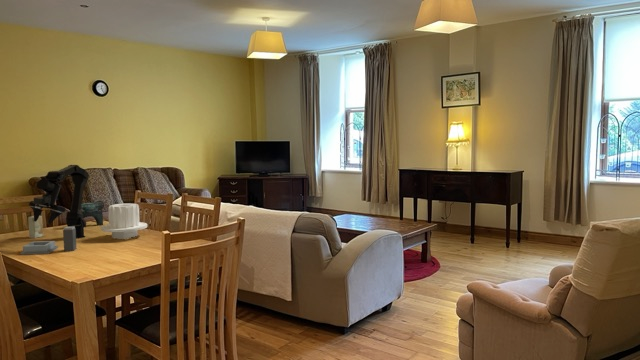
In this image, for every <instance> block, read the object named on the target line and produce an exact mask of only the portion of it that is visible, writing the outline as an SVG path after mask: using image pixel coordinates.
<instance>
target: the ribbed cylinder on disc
mask: <svg viewBox="0 0 640 360" xmlns="http://www.w3.org/2000/svg"><path fill="white" fill-rule="evenodd" d="M107 209H108V224H105V225H104V224H103V225H101V226H100V231H102V232H107V233H111V238H112V239H115V238H117V239H116V240H123V239H125V240H128V239H127V238H129V239H132V238H131V237H133V238H136V237H135V236H137V237H138V231H140V230H144V229H147V228H148V223H146V222H143V221H142V222H141V221H140V205H139V204H138V203H131V202H130V203H129V202H128V203H117V204H115V203H114V204H110V205H109V206H108V208H107Z"/></svg>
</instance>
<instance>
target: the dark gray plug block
mask: <svg viewBox="0 0 640 360" xmlns="http://www.w3.org/2000/svg"><path fill="white" fill-rule="evenodd" d="M62 233H63V236H62V237H63V251H64V252H74V251H76V250H77V238H76V228H75V226H72V227H68V226H65V227H63V230H62Z"/></svg>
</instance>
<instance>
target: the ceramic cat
mask: <svg viewBox="0 0 640 360" xmlns="http://www.w3.org/2000/svg"><path fill="white" fill-rule="evenodd" d="M91 197H92V198H93V199H92V202H86V201H84V202H83V203H82V204H81V212H82V214H83V219H85V218H88V217H89V218H90V217H93V219H94V220H95V223H96V226H98V227H99V226H104V216H103V211H102V210H103V208H104V207H105V203H104V201H103V199H102V198H101V197H99V198H98V199H96V200H95V197H94V196H93V195H89V196H88V197H87V198H88V199H89V198H91Z"/></svg>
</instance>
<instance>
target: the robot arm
mask: <svg viewBox="0 0 640 360" xmlns="http://www.w3.org/2000/svg"><path fill="white" fill-rule="evenodd" d="M68 176H70V177H71V181H72V184H73V185H74V186H73V194H72V202H71V209H70V210H69V211H67V212H66V207H65V206H62V205H58V204H56V203H57V200H59V193H60V190H61V189H63V185H62V183H61V182H63V181H65V180H66V177H68ZM89 177H90V175H89V172H88V171H87V170H86V169H84V168H83V167H81V166H80V165H78V164H69V165H67V166H65V167H64V168H60V169H59V170H58V169H57V170H50V171H48V172H47V173H46V175H45V176H42V177H41V179H39V180H38V181H37V182H36V187H37V190H40V191H43V192H45V193H43V194H42V195H41V196H35V197H33V200H31V201H29V203H28V206H29V207H30V209H32V211H33V216H34V221H35V222H36V221H37V220H38V218H39V216H41V214H42V212H43V209H48V210H49V211H50V215H49V219H48V223H47V224H48V225H51V224H52V223H53V222H54V221H55V220H56V219H57V218H58V217H59V216H60V215H62V214H63V213H64V214H65V213H66V218H65V222H66V227H72V226H75V228H76V239H80V238H86V236H85V232H84V231H85V230H84V228H85V227H87V221H86V220H85V218H83V214H82V212H81V204H83V194H84V187H85V185H87V183H88V180H89Z"/></svg>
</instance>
